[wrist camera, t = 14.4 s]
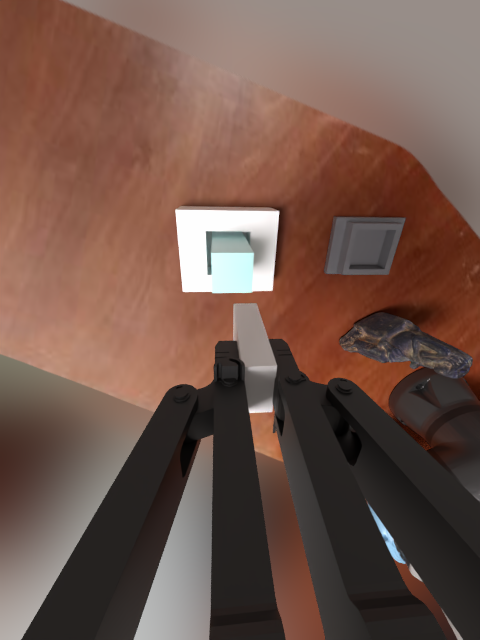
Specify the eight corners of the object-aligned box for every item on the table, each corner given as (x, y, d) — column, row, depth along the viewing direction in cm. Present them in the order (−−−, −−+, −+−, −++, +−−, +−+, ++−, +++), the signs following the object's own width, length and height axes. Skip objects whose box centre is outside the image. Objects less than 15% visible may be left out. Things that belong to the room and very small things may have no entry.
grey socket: (401, 217, 36) (415, 220, 34) (384, 271, 40) (396, 277, 38) (333, 216, 36) (343, 219, 33) (323, 271, 39) (331, 278, 37)
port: (271, 207, 34) (279, 211, 30) (265, 278, 39) (272, 290, 35) (180, 206, 33) (175, 209, 29) (186, 279, 38) (182, 291, 34)
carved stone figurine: (331, 329, 45) (380, 391, 32) (398, 297, 43) (479, 349, 30) (341, 351, 47) (389, 417, 34) (404, 322, 45) (481, 380, 32)
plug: (241, 231, 34) (253, 252, 24) (241, 260, 36) (252, 292, 26) (212, 231, 34) (211, 252, 24) (213, 260, 36) (212, 292, 26)
